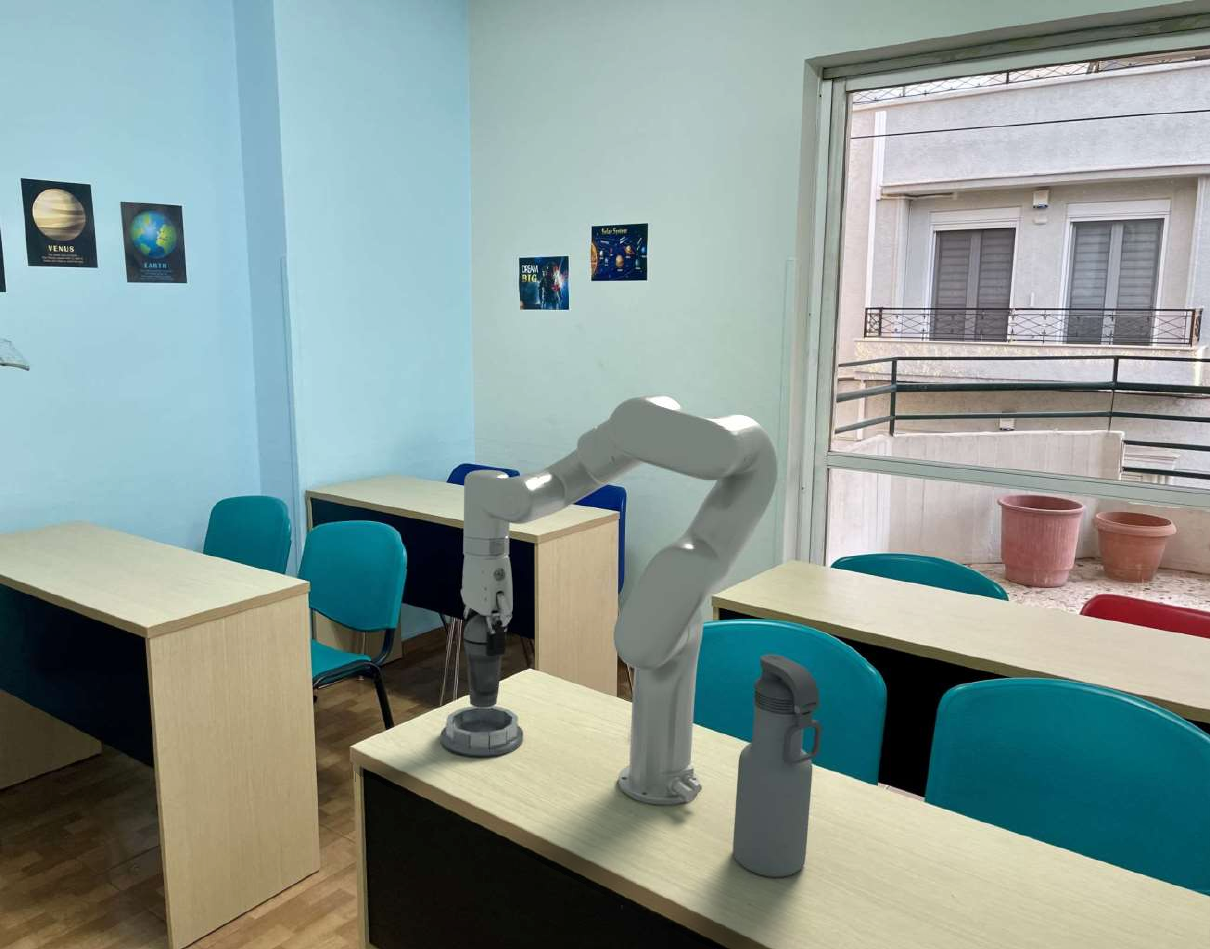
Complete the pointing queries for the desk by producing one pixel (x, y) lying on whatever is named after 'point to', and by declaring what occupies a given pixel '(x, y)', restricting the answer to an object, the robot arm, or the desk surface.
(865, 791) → the desk surface
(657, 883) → the desk surface
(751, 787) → the water bottle
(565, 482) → the robot arm
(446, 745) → the base
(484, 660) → the beverage cup
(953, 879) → the desk surface
